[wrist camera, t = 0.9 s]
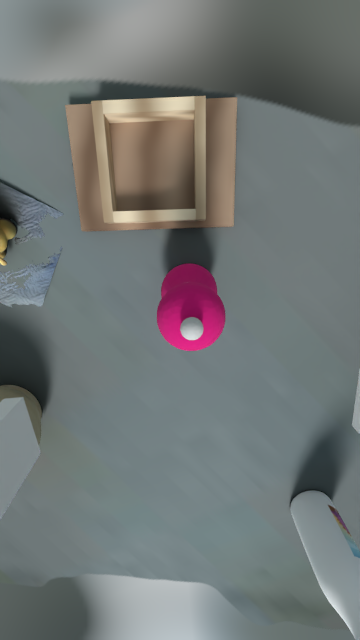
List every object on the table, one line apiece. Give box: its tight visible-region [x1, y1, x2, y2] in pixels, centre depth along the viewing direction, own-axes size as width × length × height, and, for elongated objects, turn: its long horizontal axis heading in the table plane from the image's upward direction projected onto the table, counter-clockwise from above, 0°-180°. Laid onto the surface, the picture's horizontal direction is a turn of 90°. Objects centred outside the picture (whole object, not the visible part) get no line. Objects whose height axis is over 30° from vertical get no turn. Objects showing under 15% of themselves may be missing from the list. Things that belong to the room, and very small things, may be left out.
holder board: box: [65, 96, 237, 231], centre depth 32 cm, size 20×14×4 cm
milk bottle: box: [290, 490, 360, 640], centre depth 40 cm, size 8×8×20 cm
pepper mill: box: [157, 264, 225, 351], centre depth 29 cm, size 7×7×20 cm
